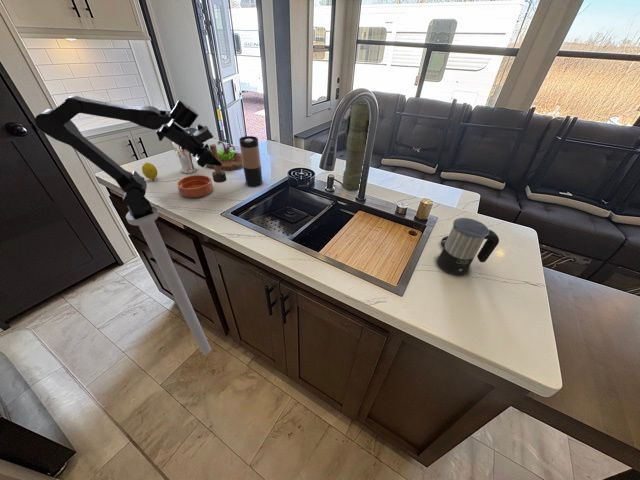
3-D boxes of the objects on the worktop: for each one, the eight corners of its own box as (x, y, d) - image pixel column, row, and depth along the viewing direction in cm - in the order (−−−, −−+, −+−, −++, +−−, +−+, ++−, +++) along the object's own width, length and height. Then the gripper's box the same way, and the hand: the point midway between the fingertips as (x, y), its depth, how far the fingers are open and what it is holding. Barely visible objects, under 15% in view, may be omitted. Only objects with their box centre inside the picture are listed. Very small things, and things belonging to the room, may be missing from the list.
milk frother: (448, 278, 75) (469, 239, 66) (418, 245, 87) (432, 207, 77) (487, 270, 78) (512, 231, 69) (453, 239, 90) (470, 202, 81)
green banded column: (359, 193, 113) (372, 107, 92) (336, 186, 118) (343, 102, 96) (367, 186, 119) (381, 103, 98) (345, 179, 124) (354, 99, 102)
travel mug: (255, 178, 121) (250, 134, 109) (266, 183, 118) (261, 139, 105) (242, 183, 117) (235, 138, 104) (253, 188, 113) (246, 143, 100)
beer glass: (182, 168, 126) (172, 137, 117) (197, 167, 128) (188, 136, 119) (180, 174, 121) (170, 142, 112) (196, 173, 123) (187, 141, 114)
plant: (215, 154, 142) (211, 134, 135) (250, 156, 142) (247, 136, 135) (201, 169, 127) (195, 146, 120) (240, 171, 126) (236, 149, 119)
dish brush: (218, 183, 101) (210, 148, 92) (211, 179, 103) (203, 145, 95) (229, 180, 104) (222, 145, 95) (222, 176, 106) (215, 142, 98)
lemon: (162, 178, 117) (156, 162, 112) (150, 183, 113) (143, 166, 108) (155, 175, 119) (149, 159, 114) (143, 180, 115) (136, 162, 110)
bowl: (190, 202, 102) (186, 192, 99) (174, 191, 108) (170, 181, 105) (219, 191, 110) (217, 181, 107) (203, 181, 116) (200, 172, 114)
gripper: (199, 126, 81) (239, 155, 93) (191, 113, 94) (227, 140, 105) (179, 153, 83) (221, 179, 94) (174, 137, 95) (211, 161, 107)
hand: (220, 163), depth 100 cm, fingers closed on dish brush, 2 cm apart
